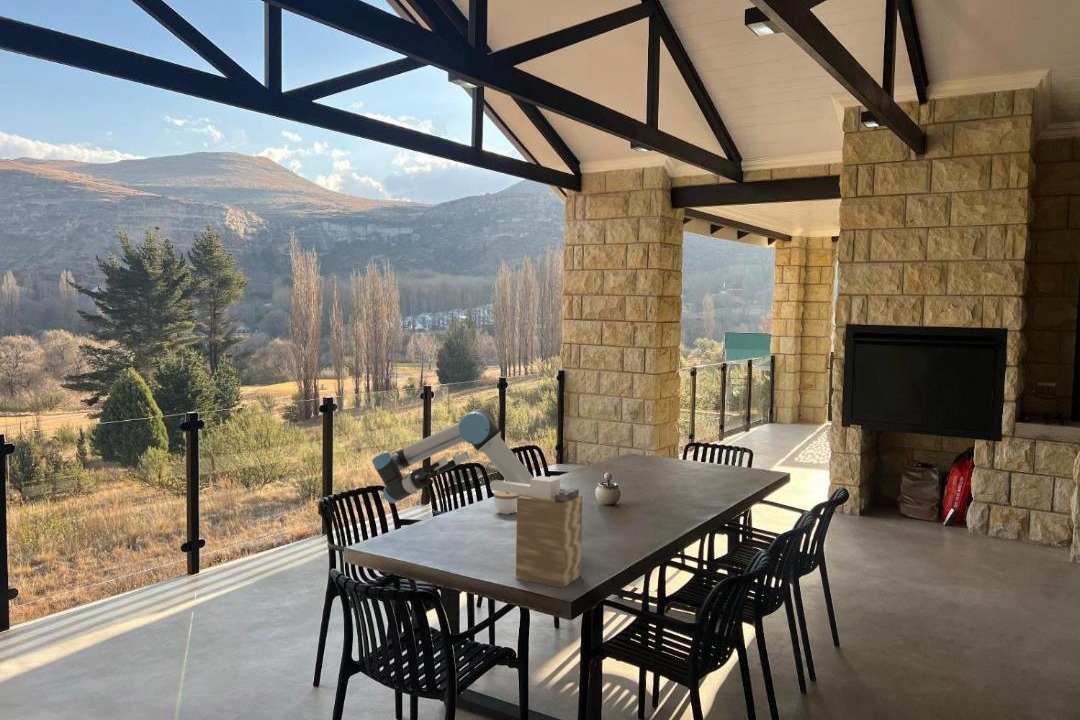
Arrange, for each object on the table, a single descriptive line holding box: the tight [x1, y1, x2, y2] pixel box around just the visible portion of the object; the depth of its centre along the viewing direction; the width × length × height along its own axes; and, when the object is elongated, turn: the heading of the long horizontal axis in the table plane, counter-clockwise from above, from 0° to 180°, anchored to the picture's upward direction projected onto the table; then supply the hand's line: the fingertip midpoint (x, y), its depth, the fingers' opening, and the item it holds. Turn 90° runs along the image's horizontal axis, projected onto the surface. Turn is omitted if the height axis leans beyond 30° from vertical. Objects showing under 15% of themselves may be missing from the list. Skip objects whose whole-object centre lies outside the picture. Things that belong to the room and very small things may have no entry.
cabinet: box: [515, 487, 583, 589], centre depth 251 cm, size 14×18×31 cm
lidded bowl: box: [493, 491, 520, 515], centre depth 341 cm, size 13×13×11 cm
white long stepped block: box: [490, 475, 561, 499], centre depth 255 cm, size 7×25×6 cm, turn 61°
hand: (457, 457), depth 268 cm, fingers open, 13 cm apart
